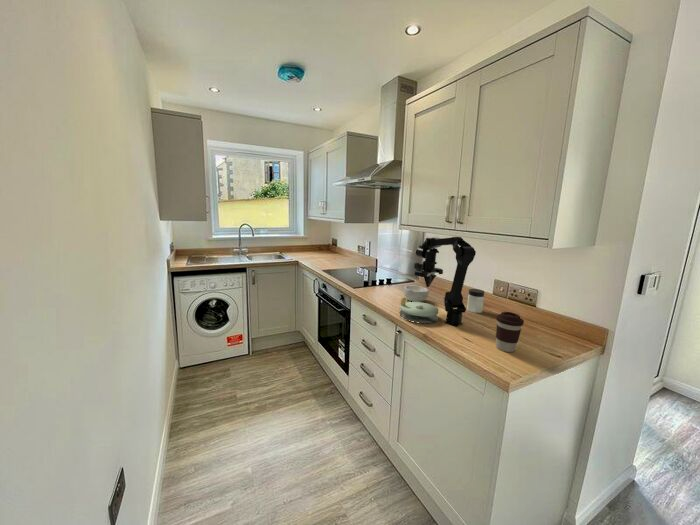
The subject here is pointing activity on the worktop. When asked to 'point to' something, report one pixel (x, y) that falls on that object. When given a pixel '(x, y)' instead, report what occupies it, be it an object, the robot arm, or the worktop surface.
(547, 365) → the worktop surface
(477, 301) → the jar
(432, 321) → the grey metal shallow dish
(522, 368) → the worktop surface
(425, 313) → the handwheel
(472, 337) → the worktop surface
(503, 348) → the coffee cup
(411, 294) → the paper bowls
